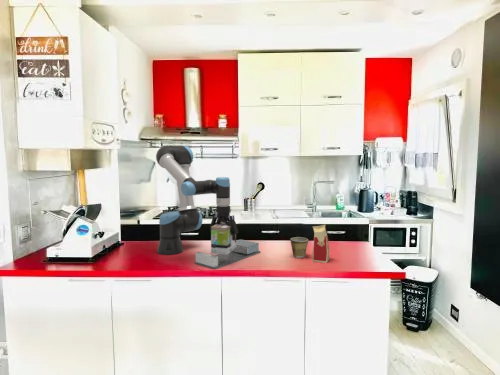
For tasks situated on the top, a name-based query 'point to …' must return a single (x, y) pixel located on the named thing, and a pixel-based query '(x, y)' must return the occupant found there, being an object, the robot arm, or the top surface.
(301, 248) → the ceramic cup
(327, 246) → the paper coffee bag
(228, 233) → the tea box
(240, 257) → the vise
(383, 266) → the top surface
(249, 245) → the free jaw
